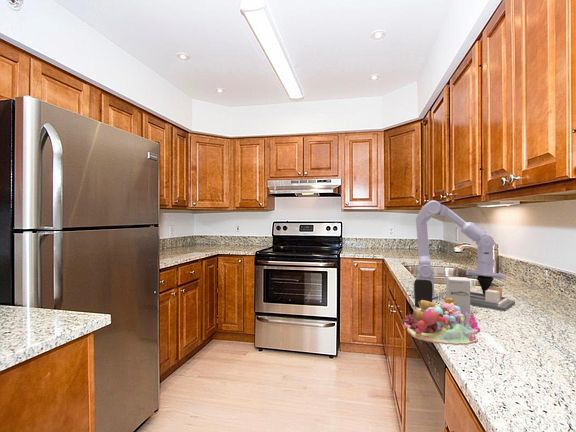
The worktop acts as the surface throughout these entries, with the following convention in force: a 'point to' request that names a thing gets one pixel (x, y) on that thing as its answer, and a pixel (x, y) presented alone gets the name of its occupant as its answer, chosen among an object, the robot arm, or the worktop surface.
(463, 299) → the supplement box
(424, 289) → the battery charger
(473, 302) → the gray compartment tray
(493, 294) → the cream white block
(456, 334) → the candy landscape model
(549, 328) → the worktop surface
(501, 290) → the orange block
